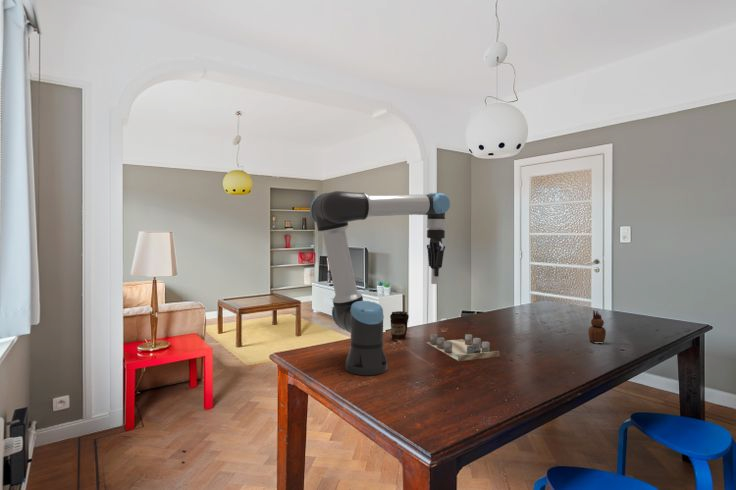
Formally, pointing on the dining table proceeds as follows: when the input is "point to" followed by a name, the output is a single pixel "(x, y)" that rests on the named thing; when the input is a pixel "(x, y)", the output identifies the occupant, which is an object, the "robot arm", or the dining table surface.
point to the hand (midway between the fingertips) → (434, 283)
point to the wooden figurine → (597, 329)
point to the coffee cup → (398, 325)
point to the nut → (473, 349)
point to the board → (462, 347)
